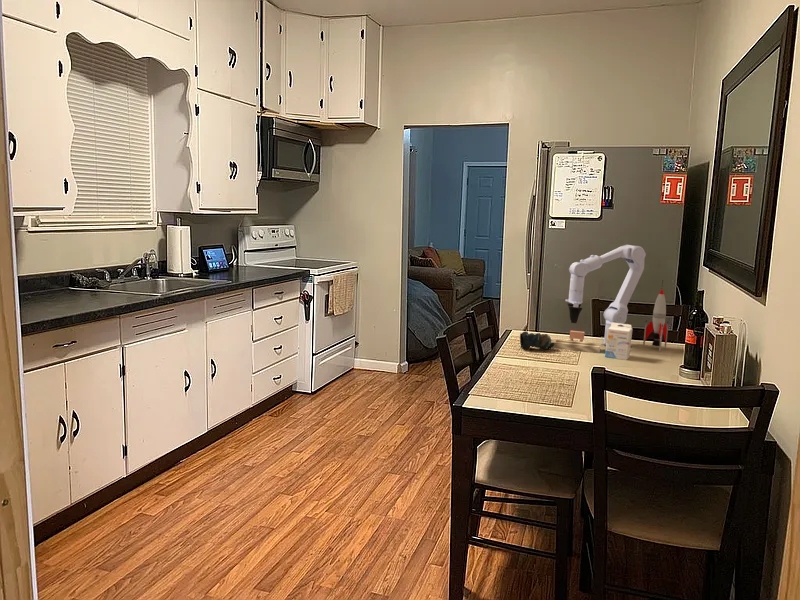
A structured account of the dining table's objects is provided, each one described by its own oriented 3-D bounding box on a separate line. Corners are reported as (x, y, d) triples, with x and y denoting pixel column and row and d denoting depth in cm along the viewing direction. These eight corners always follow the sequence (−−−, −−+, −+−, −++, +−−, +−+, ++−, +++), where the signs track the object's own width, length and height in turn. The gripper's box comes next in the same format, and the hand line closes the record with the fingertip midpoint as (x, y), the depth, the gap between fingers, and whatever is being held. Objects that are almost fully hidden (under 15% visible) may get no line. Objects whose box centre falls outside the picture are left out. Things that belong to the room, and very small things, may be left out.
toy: (665, 347, 266) (672, 279, 261) (671, 352, 258) (679, 281, 253) (642, 346, 267) (648, 278, 262) (648, 350, 258) (655, 280, 254)
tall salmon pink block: (583, 344, 267) (584, 331, 266) (583, 345, 265) (584, 332, 265) (569, 342, 269) (570, 330, 268) (569, 343, 267) (569, 331, 266)
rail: (599, 349, 258) (600, 343, 258) (599, 353, 251) (599, 347, 251) (551, 344, 264) (551, 338, 264) (549, 347, 258) (550, 342, 258)
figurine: (515, 332, 259) (551, 329, 258) (517, 352, 258) (553, 349, 257) (518, 331, 250) (555, 328, 250) (521, 351, 249) (558, 348, 249)
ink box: (604, 357, 245) (607, 324, 243) (608, 352, 253) (610, 321, 250) (627, 360, 241) (630, 326, 239) (630, 355, 249) (633, 323, 247)
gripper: (565, 287, 270) (562, 317, 272) (567, 291, 256) (564, 323, 258) (582, 288, 269) (579, 319, 271) (584, 293, 255) (581, 325, 257)
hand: (573, 321), depth 265 cm, fingers open, 7 cm apart
